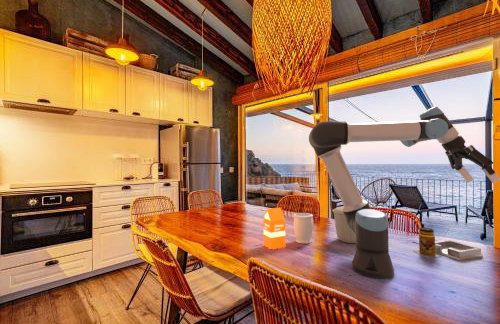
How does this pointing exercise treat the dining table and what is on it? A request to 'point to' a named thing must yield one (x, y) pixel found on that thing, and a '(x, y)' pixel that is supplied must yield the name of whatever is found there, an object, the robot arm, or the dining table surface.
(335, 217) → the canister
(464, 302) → the dining table surface
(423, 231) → the condiment
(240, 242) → the dining table surface
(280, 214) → the orange juice
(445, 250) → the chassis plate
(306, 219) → the jar
